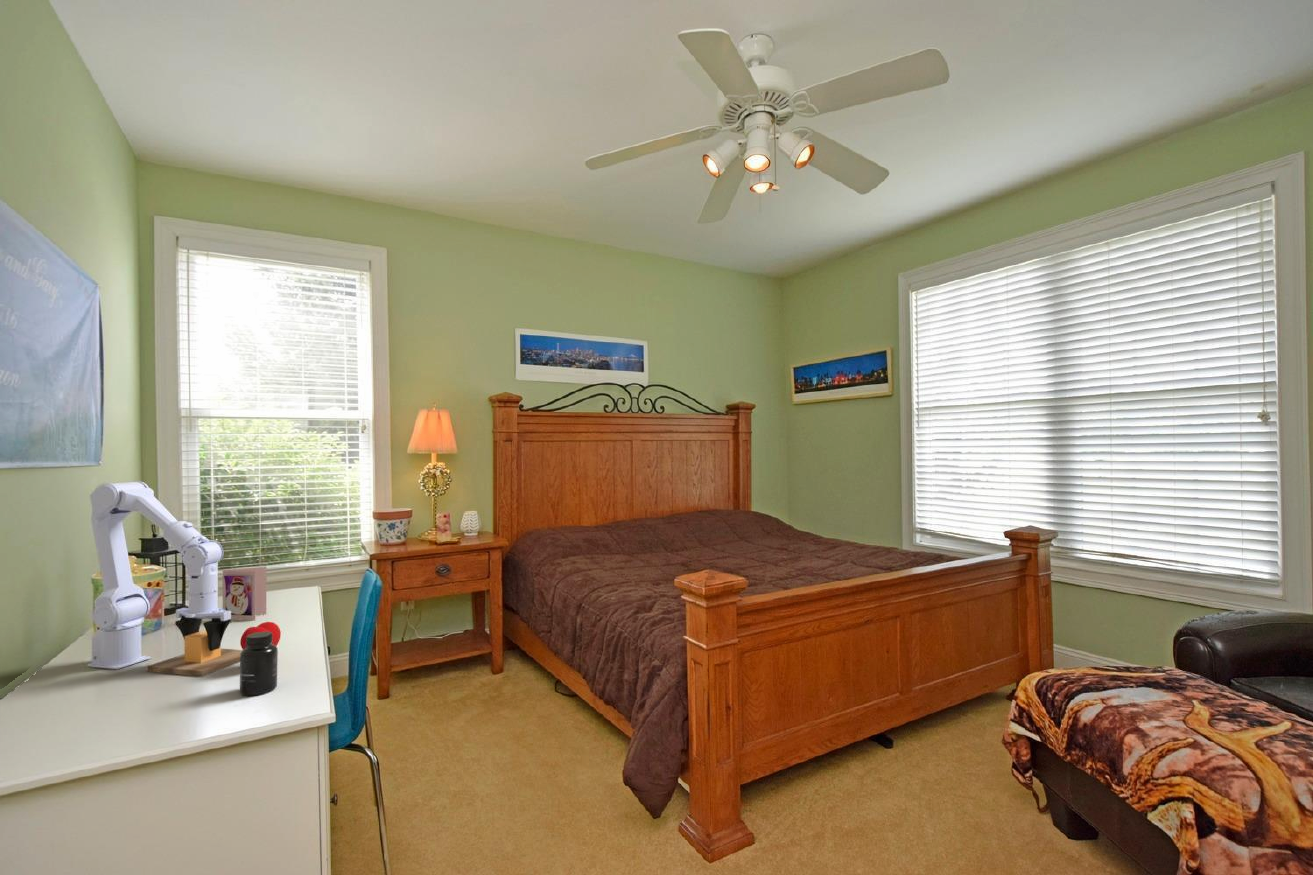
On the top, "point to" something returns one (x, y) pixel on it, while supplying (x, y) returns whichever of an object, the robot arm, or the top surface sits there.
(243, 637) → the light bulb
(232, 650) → the post board
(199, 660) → the orange wooden cube
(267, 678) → the supplement bottle
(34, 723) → the top surface
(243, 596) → the greeting card
